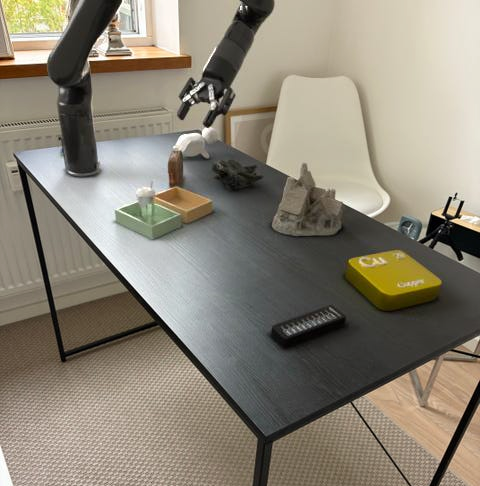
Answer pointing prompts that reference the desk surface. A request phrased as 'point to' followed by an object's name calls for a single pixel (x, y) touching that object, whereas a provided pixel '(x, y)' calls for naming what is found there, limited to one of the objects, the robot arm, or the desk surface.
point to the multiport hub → (307, 326)
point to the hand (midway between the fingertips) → (192, 122)
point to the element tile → (392, 280)
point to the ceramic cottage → (308, 208)
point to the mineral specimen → (235, 174)
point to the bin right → (184, 203)
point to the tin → (175, 168)
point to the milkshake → (146, 204)
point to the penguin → (196, 142)
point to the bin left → (162, 223)
